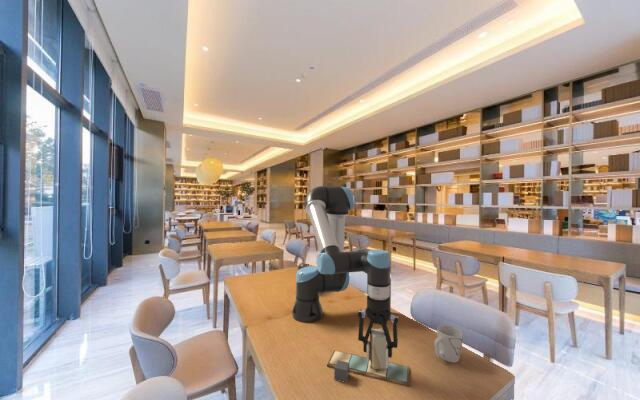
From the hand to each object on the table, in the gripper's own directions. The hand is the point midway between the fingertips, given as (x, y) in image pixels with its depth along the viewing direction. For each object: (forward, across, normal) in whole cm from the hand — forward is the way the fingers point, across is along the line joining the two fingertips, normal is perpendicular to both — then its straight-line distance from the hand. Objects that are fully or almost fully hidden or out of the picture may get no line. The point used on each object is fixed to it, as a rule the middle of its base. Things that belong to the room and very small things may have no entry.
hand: (377, 363), depth 86 cm
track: (+2, -3, 0) cm, 4 cm away
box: (+1, 0, 0) cm, 1 cm away
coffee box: (+2, -53, +59) cm, 79 cm away
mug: (+2, +23, +15) cm, 28 cm away
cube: (+2, -10, -8) cm, 13 cm away
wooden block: (+2, -4, +42) cm, 42 cm away
